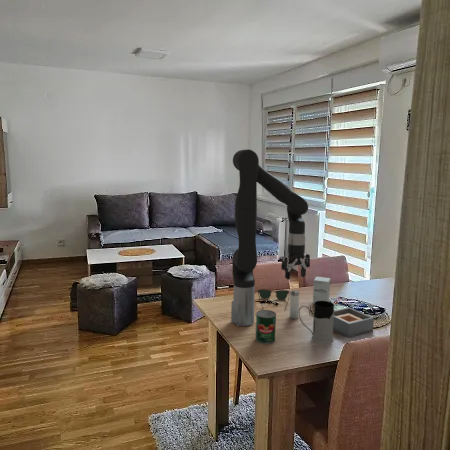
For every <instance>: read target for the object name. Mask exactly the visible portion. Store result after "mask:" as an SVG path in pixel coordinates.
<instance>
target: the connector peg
mask: <svg viewBox="0 0 450 450" xmlns="http://www.w3.org/2000/svg"><path fill="white" fill-rule="evenodd" d="M289 291H290V292H289V318H290V319H292V320H293V319H299V308H300V291H299V290H289Z"/></svg>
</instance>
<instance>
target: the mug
mask: <svg viewBox="0 0 450 450" xmlns="http://www.w3.org/2000/svg"><path fill="white" fill-rule="evenodd" d="M313 305H314V307H313V308H314V309H313V310H314V311H313V315H312V314H311V310H310V307H309V306H307V305H301V306H299V313H298V319H299V320H300V323H301V324H302V325H303V326H304V327H305V328H306V329H307V330H308V331H310V332H311V337H310V338H311V341H313V342H314V343H315V344H318V345H331V344H333V343H334V341H335V340H334V330H333V322H334V310H335V305H334V303H333V302H331V301H329V302H328V301H317V302H315V304H313ZM305 307H306V308H307V309H308V315H309V316H310V317H311V318H313V321H312V330H311V328H309V327H308V325H306V324H305V323H304V322H303V320H302V318H301V315H300V311H301V308H305Z"/></svg>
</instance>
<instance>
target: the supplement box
mask: <svg viewBox="0 0 450 450" xmlns="http://www.w3.org/2000/svg"><path fill="white" fill-rule="evenodd" d="M330 288H331V277H325V276H324V277H323V276H315V278H314V279H313V289H312V290H313V293H312V304H313V305H315V302H317V301H328V302H330V301H329V300H330V290H331V289H330Z"/></svg>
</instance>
